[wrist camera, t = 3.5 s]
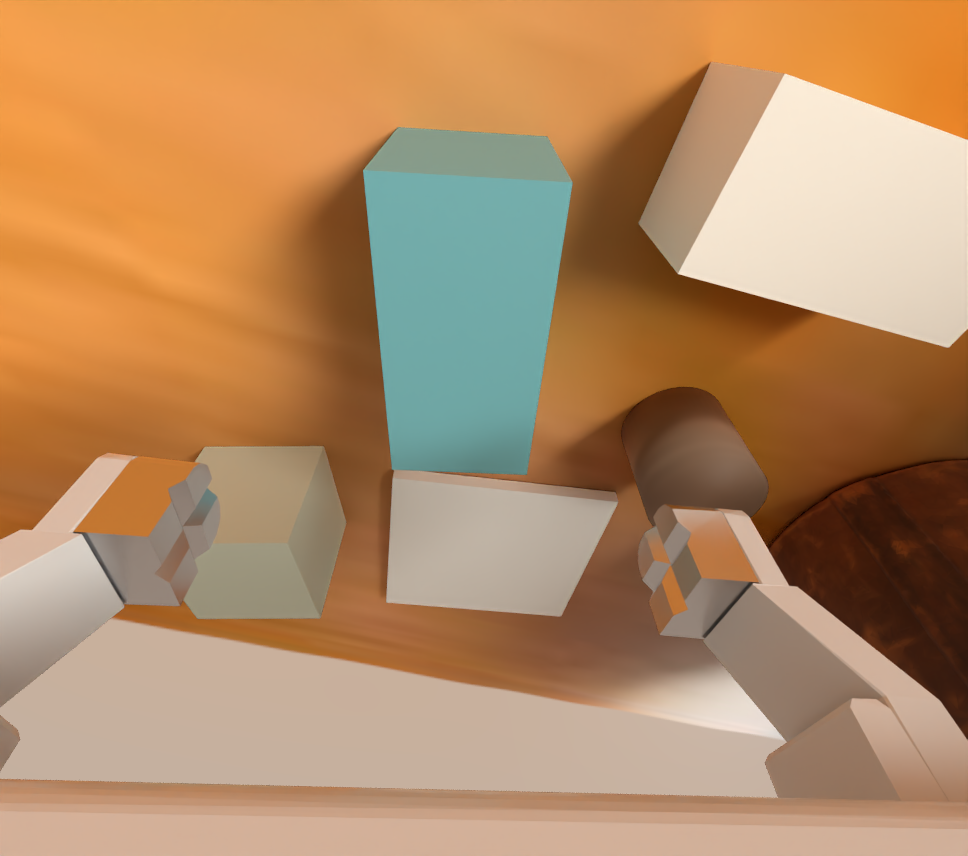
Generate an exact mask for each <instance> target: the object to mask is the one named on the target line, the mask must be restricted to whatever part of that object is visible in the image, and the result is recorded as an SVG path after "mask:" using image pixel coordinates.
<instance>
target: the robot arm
mask: <svg viewBox="0 0 968 856" xmlns="http://www.w3.org/2000/svg"><path fill="white" fill-rule="evenodd" d="M211 480H212V477H211V474H210V471H209V468H208V465H206V464H203V463H198V462H189V461H180V460H171V459H162V458H154V457H145V456H131V455H123V454H114V453H107V454H104V455H102V456H100V457H98V458H96V459H95V460H94V462H93V463H92V464H91V465H90V466H89V467H88V468H87V469H86V471H85V472H84V473H83V474H82V475H81V476H80V477H79V478H78V479H77V481H76V482H75V483H74V484H73V485H72V486H71V487H70V488H69V489H68V491H67V492H66V493H65V494H64V495H63V496H62V497H61V498H60V499H59V501H58V502H57V503H56V504H55V505H54V506H53V507H52V508H51V509H50V511H49V512H48V513H47V514H46V515H45V516H44V517H43V518H42V519H41V521H40V522H39V523H38V524H37V525H36V526H35V527H34V528H33V529H32V530H23V529H21V530H19V531H17V532H15V533H13V534H11V535H9V536H7V537H5V538H3V539H1V540H0V707H1V706H2V705H4V704H5V703H6V702H7V701H8V700H10V699H11V698H12V697H14V696H15V695H16V694H17V693H18V692H20V691H21V690H22V689H23V688H25V687H26V686H27V685H28V684H30V683H31V682H32V681H33V680H35V679H36V678H37V677H38V676H40V675H41V674H42V673H43V672H45V671H46V670H47V669H48V668H50V667H51V666H52V665H53V664H55V663H56V662H57V661H58V660H60V659H61V658H62V657H63V656H65V655H66V654H67V653H68V652H70V651H71V650H72V649H73V648H74V647H76V646H77V645H78V644H79V643H81V642H82V641H83V640H85V639H86V638H87V637H88V636H89V635H91V634H92V633H93V632H94V631H96V630H97V629H98V628H99V627H100V626H102V625H103V624H104V623H105V622H107V621H108V620H109V619H111V618H112V617H113V616H114V615H116V614H117V613H118V612H119V611H121V610H122V609H123V608H124V604H133V605H162V606H180V605H181V603H182V601H183V600H184V598H185V596H186V594H187V592H188V590H189V588H190V586H191V584H192V582H193V580H194V578H195V576H196V575H197V573H198V569H197V565H196V562H195V559H196V558H197V557H199V556H200V555H201V554H203V553H204V552H206V551H207V550H209V549H210V547H211V545H212V543H213V541H214V539H215V537H216V535H217V531H218V527H219V522H220V504H219V500H218V497H217V496H216V495H215V494H214V493H212V492H211V491H210V490H209V489H208V488H207V487H208V485H209V484H210V482H211ZM653 518H654V521H655V523H656V526H655V527H653V528H651V529H650V530H648V531H646V532H645V533H644V535H643V537H642V539H641V541H640V543H639V549H638V566H639V571H640V574H641V578H642V581H643V582H644V583H645V584H646V585H647V586H648V587H649V588H650V589H651V590H652V591H653V593H652V596H651V598H650V600H649V604H650V607H651V610H652V613H653V617H654V620H655V623H656V626H657V629H658V632H659V635H664V636H675V637H686V638H698V639H704V640H703V642H704V643H705V645H706V646H707V647H708V648H709V649H710V651H711V652H712V653H713V654H714V655H715V656H716V658H717V659H718V660H719V661H720V662H721V664H722V665H723V666H724V667H725V668H726V670H727V671H728V672H729V673H730V674H731V676H732V677H733V678H734V679H735V680H736V682H737V683H738V684H739V685H740V686H741V688H742V689H743V690H744V691H745V692H746V694H747V695H748V696H749V697H750V698H751V699H752V701H753V702H754V703H755V704H756V705H757V707H758V708H759V709H760V710H761V711H762V713H763V714H764V715H765V716H766V717H767V719H768V720H769V721H770V722H771V723H772V725H773V726H774V727H775V728H776V729H777V731H778V732H779V733H780V734H781V735H782V737H783V738H784V739H785V740H786V741H787V743H785V744H784V745H783V746H781V747H780V748H778V749H777V750H775V751H774V752H773V753H771V754H769V755H768V757H767V759H766V761H765V765H766V768H767V770H768V773H769V775H770V778H771V780H772V783H773V785H774V788H775V791H776V793H777V796H778V798H770V797H728V796H726V797H725V796H686V795H685V796H684V795H645V794H644V795H641V794H604V793H561V792H560V793H559V792H519V791H518V792H517V791H478V790H477V791H476V790H437V789H395V788H352V787H311V786H270V785H266V786H265V785H227V784H186V783H185V784H184V783H143V782H104V781H103V782H102V781H100V782H99V781H62V780H20V779H0V856H968V740H967V739H966V737H965V736H964V734H963V733H962V731H961V730H960V729H959V727H958V726H957V724H956V723H955V721H954V720H953V719H952V717H951V716H950V714H949V713H948V711H947V710H946V709H945V707H944V706H943V704H942V703H941V701H940V700H939V699H937V698H936V697H935V696H934V695H932V694H931V693H930V692H929V691H927V690H926V689H925V688H924V687H922V686H921V685H920V684H919V683H917V682H916V681H915V680H914V679H912V678H911V677H910V676H909V675H907V674H906V673H905V672H903V671H902V670H901V669H900V668H898V667H897V666H896V665H895V664H893V663H892V662H891V661H890V660H888V659H887V658H886V657H885V656H883V655H882V654H881V653H880V652H878V651H877V650H876V649H875V648H873V647H872V646H871V645H870V644H868V643H867V642H866V641H865V640H863V639H862V638H861V637H860V636H858V635H857V634H856V633H855V632H853V631H852V630H851V629H850V628H848V627H847V626H846V625H845V624H843V623H842V622H841V621H840V620H838V619H837V618H836V617H835V616H833V615H832V614H831V613H830V612H828V611H827V610H826V609H825V608H823V607H822V606H821V605H820V604H818V603H817V602H816V601H814V600H813V599H812V598H811V597H809V596H808V595H807V594H806V593H804V592H803V591H802V590H801V589H799V588H798V587H795V586H789V585H788V583H787V581H786V580H785V578H784V576H783V574H782V573H781V571H780V569H779V567H778V566H777V564H776V562H775V561H774V559H773V557H772V555H771V554H770V552H769V550H768V548H767V547H766V545H765V543H764V541H763V540H762V538H761V536H760V535H759V533H758V531H757V529H756V528H755V526H754V524H753V522H752V521H751V519H750V517H749V516H748V515H747V514H746V513H744V512H743V511H742V510H729V509H717V508H716V509H713V508H706V507H693V506H681V505H668V504H664V505H663V506H661V507H660V508H658V510H657V512H656V513H655V515H654V517H653ZM19 741H20V737H19V733H18V730H17V729H16V728H15V727H14V726H13V725H11V724H10V723H9V722H8V721H6V720H5V719H4V718H3V717H2V716H0V771H1V769H2V768H3V766H4V764H5V763H6V761H7V760H8V758H9V757H10V755H11V753H12V752H13V750H14V749H15V747H16V745H17V744H18V742H19Z"/></svg>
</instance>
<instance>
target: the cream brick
mask: <svg viewBox="0 0 968 856" xmlns="http://www.w3.org/2000/svg"><path fill="white" fill-rule="evenodd" d="M638 224H639V225H640V226H641V227H642V229H643V230H644V231H645V233H646V234H647V235H648V236H649V238H650V239H651V240H652V242H653V243H654V244H655V245H656V247H657V248H658V249H659V250H660V252H661V253H662V254H663V256H664V257H665V258H666V259H667V261H668V262H669V263H670V265H671V266H672V267H673V268H674V270H675V271H676V272H677V274H680V275H684V276H687V277H691V278H695V279H698V280H702V281H706V282H709V283H713V284H717V285H720V286H724V287H728V288H731V289H735V290H739V291H742V292H746V293H750V294H753V295H757V296H761V297H764V298H768V299H772V300H775V301H779V302H782V303H786V304H790V305H793V306H797V307H801V308H804V309H808V310H812V311H815V312H819V313H823V314H826V315H830V316H834V317H837V318H841V319H845V320H848V321H852V322H856V323H859V324H863V325H867V326H870V327H874V328H878V329H881V330H885V331H889V332H892V333H896V334H900V335H903V336H907V337H911V338H914V339H918V340H921V341H925V342H929V343H932V344H936V345H940V346H943V347H947V348H949V347H950V346H951V345H952V344H953V343H954V342H955V341H956V340H957V339H958V338H959V337H960V336H961V335H962V334H963V333H964V332H965V331H966V330H967V329H968V140H966V139H963V138H961V137H958V136H955V135H952V134H950V133H947V132H944V131H941V130H939V129H936V128H933V127H930V126H928V125H925V124H922V123H919V122H917V121H914V120H911V119H908V118H906V117H903V116H900V115H897V114H895V113H892V112H889V111H886V110H884V109H881V108H878V107H875V106H873V105H870V104H867V103H864V102H862V101H859V100H856V99H853V98H851V97H848V96H845V95H842V94H840V93H837V92H834V91H831V90H829V89H826V88H823V87H820V86H818V85H815V84H812V83H809V82H807V81H804V80H801V79H798V78H796V77H793V76H790V75H787V74H784V73H778V72H772V71H766V70H760V69H754V68H747V67H741V66H735V65H729V64H723V63H717V62H711V63H710V65H709V68H708V70H707V72H706V74H705V76H704V79H703V81H702V83H701V85H700V88H699V90H698V92H697V94H696V96H695V99H694V101H693V103H692V105H691V108H690V110H689V112H688V114H687V116H686V119H685V121H684V123H683V125H682V128H681V130H680V132H679V134H678V136H677V139H676V141H675V143H674V145H673V148H672V150H671V152H670V154H669V156H668V159H667V161H666V163H665V165H664V168H663V170H662V172H661V174H660V176H659V179H658V181H657V183H656V185H655V188H654V190H653V192H652V194H651V196H650V199H649V201H648V203H647V205H646V208H645V210H644V212H643V214H642V216H641V219H640V221H639V223H638Z"/></svg>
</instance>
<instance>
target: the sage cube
mask: <svg viewBox="0 0 968 856" xmlns="http://www.w3.org/2000/svg"><path fill="white" fill-rule="evenodd" d="M195 462H198V463H203V464H206V465H208V468H209V471H210V474H211V477H212V480H211V482H210V484H209V485H208V487H207V488H208V489H209V490H210V491H211V492H212V493H214V494H215V495H216V496H217V497H218V500H219V504H220V522H219V527H218V531H217V535H216V537H215V539H214V541H213V543H212V545H211V547H210V549H209V550H207V551H206V552H204V553H203V554H201V555H200V556H199V557H197V558H196V559H195V562H196V565H197V569H198V573H197V575H196V576H195V578H194V580H193V582H192V584H191V586H190V588H189V590H188V592H187V594H186V596H185V598H184V602H185V603H186V604H187V606H188V607H189V608H190V610H191V611H192V612H193V614H194V615H195V616H196V617H197V619H307V618H321V614H322V611H323V607H324V603H325V600H326V596H327V592H328V589H329V585H330V581H331V578H332V574H333V570H334V567H335V563H336V559H337V556H338V552H339V548H340V545H341V541H342V537H343V534H344V530H345V526H346V523H347V522H346V519H345V516H344V512H343V509H342V506H341V502H340V499H339V495H338V492H337V489H336V485H335V482H334V478H333V475H332V472H331V468H330V465H329V461H328V458H327V455H326V451H325V448H324V446H236V447H204V448H203V450H202V451H201V453H200V454H199V456H198V458H197V459H196V461H195Z"/></svg>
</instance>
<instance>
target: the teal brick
mask: <svg viewBox="0 0 968 856" xmlns="http://www.w3.org/2000/svg"><path fill="white" fill-rule="evenodd" d="M363 174H364V185H365V195H366V205H367V216H368V226H369V236H370V247H371V257H372V268H373V278H374V288H375V299H376V309H377V319H378V330H379V340H380V350H381V361H382V371H383V382H384V392H385V402H386V413H387V423H388V433H389V444H390V454H391V464H392V470H412V471H439V472H465V473H491V474H518V475H527V469H528V463H529V457H530V450H531V444H532V438H533V431H534V425H535V419H536V412H537V406H538V400H539V393H540V387H541V381H542V374H543V368H544V361H545V355H546V349H547V342H548V336H549V330H550V323H551V317H552V311H553V304H554V298H555V292H556V285H557V279H558V273H559V266H560V260H561V254H562V247H563V241H564V234H565V228H566V222H567V215H568V209H569V203H570V196H571V190H572V184H573V182H572V180H571V179H570V177H569V175H568V173H567V171H566V170H565V168H564V166H563V164H562V162H561V161H560V159H559V157H558V155H557V153H556V152H555V150H554V148H553V146H552V144H551V143H550V141H549V139H548V137H546V136H530V135H514V134H498V133H482V132H465V131H449V130H433V129H417V128H401V127H398V128H397V129H396V131H395V132H394V133H393V134H392V135H391V137H390V138H389V139H388V140H387V142H386V143H385V144H384V145H383V146H382V148H381V149H380V150H379V151H378V153H377V154H376V155H375V156H374V157H373V159H372V160H371V161H370V162H369V164H368V165H367V166H366V167H365V168H364V170H363Z"/></svg>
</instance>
